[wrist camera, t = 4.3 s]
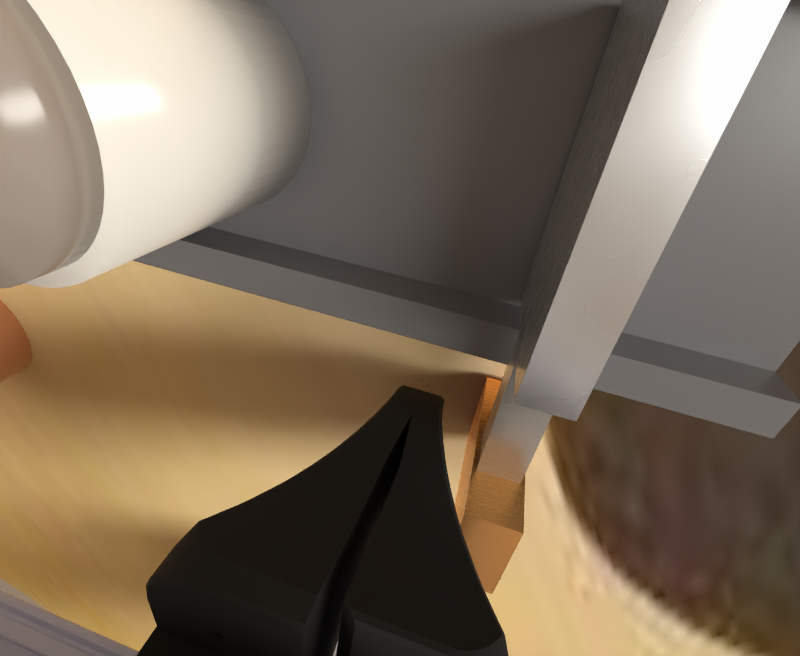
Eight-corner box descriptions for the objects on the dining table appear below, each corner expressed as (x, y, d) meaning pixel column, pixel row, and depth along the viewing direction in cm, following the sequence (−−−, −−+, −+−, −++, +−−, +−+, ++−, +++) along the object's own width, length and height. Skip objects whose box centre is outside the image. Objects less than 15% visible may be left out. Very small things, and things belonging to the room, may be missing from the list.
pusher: (505, 445, 14) (491, 597, 10) (468, 433, 14) (440, 579, 10) (677, 14, 8) (834, -61, 4) (608, 4, 8) (686, -78, 4)
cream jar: (307, 224, 11) (116, 345, 6) (143, 184, 12) (-149, 262, 7) (314, -17, 8) (-18, -163, 3) (103, -48, 9) (-424, -205, 4)
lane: (736, 383, 11) (809, 494, 8) (137, 226, 14) (29, 265, 11) (1054, -46, 6) (1485, -152, 4) (65, -152, 9) (-154, -260, 6)
